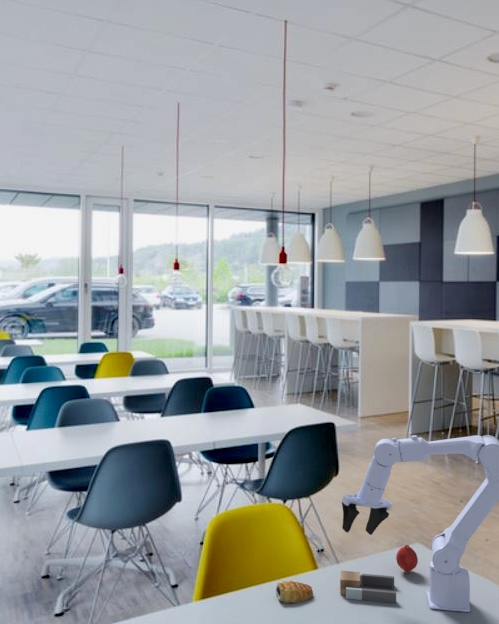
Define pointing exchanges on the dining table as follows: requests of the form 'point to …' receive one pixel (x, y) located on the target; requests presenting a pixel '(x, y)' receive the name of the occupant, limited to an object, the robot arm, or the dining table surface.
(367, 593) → the grey i-beam block
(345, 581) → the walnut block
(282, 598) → the pastry
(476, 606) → the dining table surface
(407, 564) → the pomegranate
